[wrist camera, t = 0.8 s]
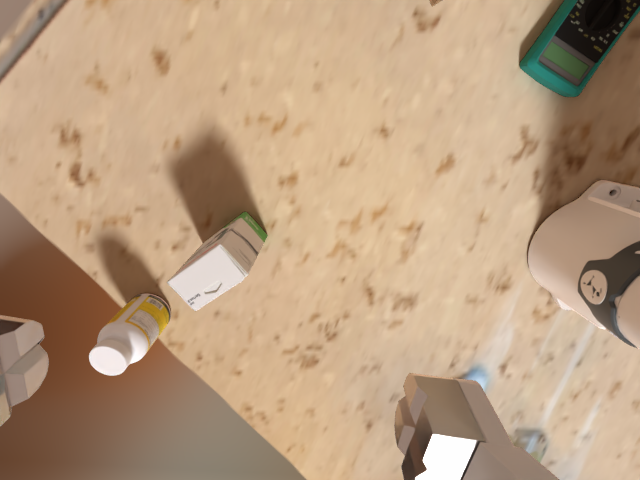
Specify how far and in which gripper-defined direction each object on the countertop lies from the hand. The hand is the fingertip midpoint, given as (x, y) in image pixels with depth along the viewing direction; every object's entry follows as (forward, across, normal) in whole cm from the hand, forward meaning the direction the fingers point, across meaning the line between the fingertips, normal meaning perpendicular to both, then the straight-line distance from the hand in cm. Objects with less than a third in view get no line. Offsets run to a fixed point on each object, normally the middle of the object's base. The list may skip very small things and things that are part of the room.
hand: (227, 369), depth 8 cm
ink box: (+40, +9, +14) cm, 43 cm away
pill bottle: (+40, +21, +28) cm, 53 cm away
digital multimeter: (+39, -28, -18) cm, 52 cm away
